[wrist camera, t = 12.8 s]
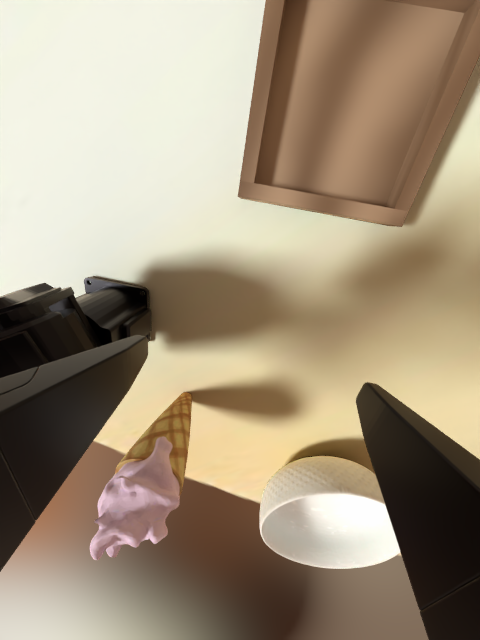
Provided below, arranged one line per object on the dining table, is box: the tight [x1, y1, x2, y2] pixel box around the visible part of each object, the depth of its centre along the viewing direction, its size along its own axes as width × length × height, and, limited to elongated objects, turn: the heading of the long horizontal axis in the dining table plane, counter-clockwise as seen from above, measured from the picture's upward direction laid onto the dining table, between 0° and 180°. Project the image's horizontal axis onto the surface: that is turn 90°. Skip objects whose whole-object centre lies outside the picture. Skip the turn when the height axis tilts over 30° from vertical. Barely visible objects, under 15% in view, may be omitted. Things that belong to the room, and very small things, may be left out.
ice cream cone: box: [90, 392, 192, 560], centre depth 21 cm, size 7×6×15 cm
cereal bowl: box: [260, 456, 400, 569], centre depth 29 cm, size 17×17×7 cm
